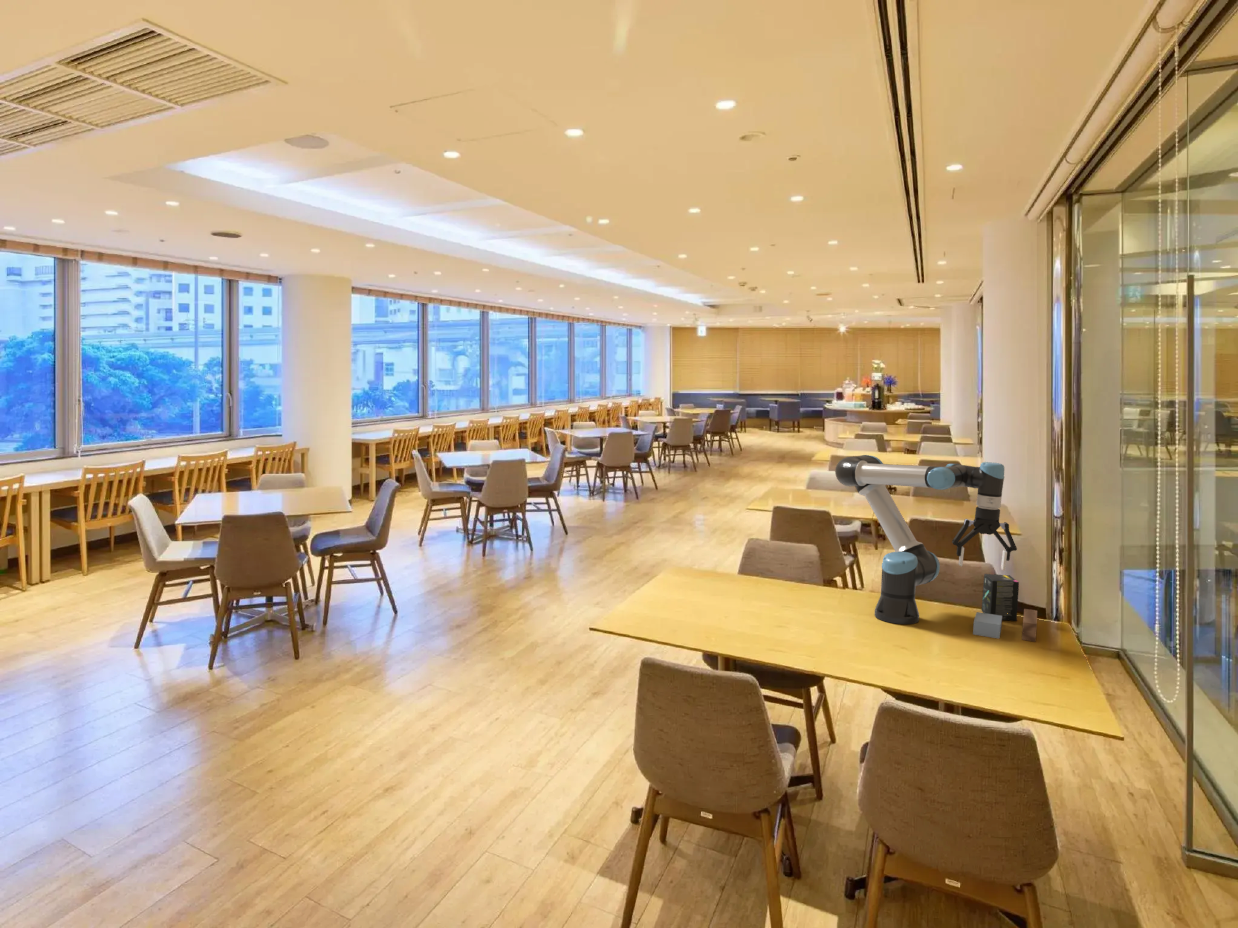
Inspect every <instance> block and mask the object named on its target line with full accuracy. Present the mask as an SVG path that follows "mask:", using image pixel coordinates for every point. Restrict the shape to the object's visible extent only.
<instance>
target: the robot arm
mask: <svg viewBox="0 0 1238 928" xmlns="http://www.w3.org/2000/svg"><path fill="white" fill-rule="evenodd" d="M834 473H835V477H836V479H837V480H838V481H837V482H839V483H840V484H841V485H843V486H846V487H855V489H856V491H857V492H858V494H859V495H860V496H864V497H865V499H866V501H867V502H868V505H869V506H870V509H871V510H872V511H873V514H874V516H875V517H876V519H877V521H878V522H879V524H880V527H881V528H882V529H883V531H884V534H885V535H886V538H888V541H889V542H890V544H891V546H892V548H893V550H894V551H893V552H888V553H885V555H884V556H883V558H882V563H881V583H880V584H881V585H880V596H879V598H878V601H877V604H876V606H875V608H874V617H875V618H876V619H878V620H880V621H883V622H886V623H890V624H896V625H897V624H898V625H899V624H900V625H912V624H913V625H914V624H916V623H919V621H920V613H919V609H918V606H917V601H916V589H917V588H916V587H918V586H920V585H926V584H928V583H930V582H932V581H934V580H935V579H936V578H937V577H938V575H939V573H940V569H941V564H940V561H939V559H938V557H937V555H936V554H935V553H933V552H931V551H929V550H927V548H926V547H925V545H924V543H923V542H920V541H918V540H917V539H916V537H915V535H914V533H913V532H912V531H911V529H910V527H909V525H908V524H907V521H906V520H905V518H904V516H903V514H902V513H901V511H900V510H899V507H898V506H897V504H896V503H895V500H894V499H893V497H892V496H891V494H890V492H889V490H888V489H887V486H898V487H899V486H900V487H915V488H929V489H935V490H940V491H941V490H942V491H943V490H948V489H953V488H959V487H963V488H971V489H977V496H976V497H977V498H976V504H975V505H976V507H975V512H974V514H975V515H974V519H973V520H970V519H968V518H965V519H964V521H963V525H962V526H961V527H960V529H959V530H958V532H957V533H956V535H955V536H954V538H953V539H952V541H951V543H952V544H953V545H954V546H956V556H958V566H959V567H963V563H964V555H965V554H964V553H965V547H964V546H965V545H966V544H967V543H968V542H969V541H971V540H972V539H973V537H975V536H977V535H978V534H981V535H988V536H989V535H994V537H996V539H997V540H998V541H999V543H1000V544H1001V545H1002V547H1003V548H1004V549H1003V550H1002V553H1001V555H1002V556H1001V563H1000V569H1001V570H1002V571H1003V572H1004V571H1006V568H1007V567H1006V565H1007V561H1008V562H1009V561H1010V558H1011V553H1012V552H1015V551H1018V548H1017V546H1016V543H1015V540H1014V539H1013V536H1012V533H1011V531H1010V524H1009V523H1008V522H1006V521H1004V522H1000V518H1001V515H1000V514H1001V510H1000V508H1001V507H1002V496H1003V488H1004V482H1005V481H1004V480H1005V466H1004V464H1002V463H999V462H998V463H997V462H988V461H983V462H981V463H980V465H979V466H974V465H972V466H971V465H967V464H966V465H964V464H960V463H948V464H946V466H935V465H934V466H932V465H931V466H929V465H913V464H911V465H910V464H909V465H908V464H907V465H906V464H887V463H886V464H885V463H883V461H882V460H881V459H880V458H878V457H876V456H874V455H869V454H863V455H857V456H856V455H855V456H854V455H853V456H846V457H844V458H842V459H841V460H839V461H838V462H837V464H836V466H835V470H834ZM972 525H973V527H974V528H972V530H971V531H970V532H969V533H967V534H966V535H965V536H964V534H965V533H966V532H967V530H968V529H969V527H971V526H972ZM1000 527H1001V529H1003V531H1004V534H1005V536H1006V539H1007V541H1008V543H1009V545H1010V546H1009V545H1008V544H1007V542H1006V541H1005V540H1004V539H1003V537H1002V536H1001V535H1000V533H999V531H998V529H1000Z"/></svg>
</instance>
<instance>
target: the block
mask: <svg viewBox="0 0 1238 928" xmlns="http://www.w3.org/2000/svg"><path fill="white" fill-rule="evenodd" d="M1002 622H1003V620H1002V616H1000V615H993V614H987V613H983V612H980V611H978V612H976V613H975V616H974V620H973V628H972V629H973V631H972V635H974V636H982V637H986V638H987V637H988V638H993V639H1000V636H1001V632H1002V624H1003V623H1002Z"/></svg>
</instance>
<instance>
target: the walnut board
mask: <svg viewBox="0 0 1238 928" xmlns="http://www.w3.org/2000/svg"><path fill="white" fill-rule="evenodd" d="M1037 624H1038V610H1035V609H1030V608H1029V609H1028V608H1024V609H1023V619H1022V631H1021V640H1023V641H1028V642H1034V643H1035V642H1036V640H1037V626H1038V625H1037Z"/></svg>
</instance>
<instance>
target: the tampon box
mask: <svg viewBox="0 0 1238 928" xmlns="http://www.w3.org/2000/svg"><path fill="white" fill-rule="evenodd" d="M983 574H984V575H983V585H982V586H983V587H982V600H981V601H982V602H981V613H987V614H993V615H1000V616H1002V621H1010V620H1011V622H1012V621H1013V622H1016V621H1018V606H1019V605H1018V604H1019V603H1018V602H1019V601H1018V600H1019V590H1020V589H1019V588H1020V582H1019V581H1018V580H1016V579H1015V578H1014V577H1012V576H1011V575H1006V574H996V573H995V574H990V573H983ZM1007 613H1008V614H1007Z"/></svg>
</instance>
